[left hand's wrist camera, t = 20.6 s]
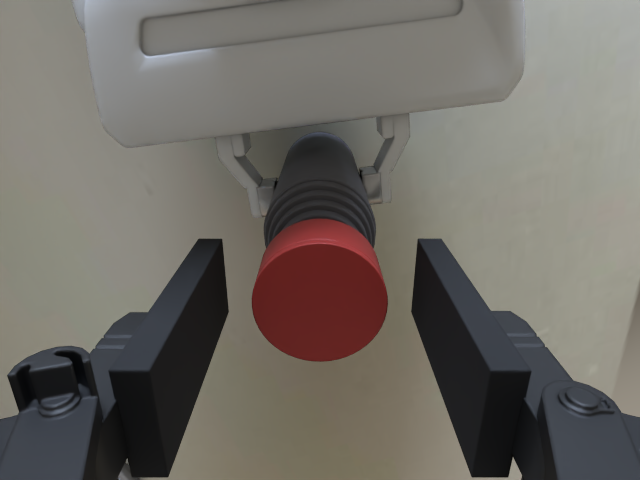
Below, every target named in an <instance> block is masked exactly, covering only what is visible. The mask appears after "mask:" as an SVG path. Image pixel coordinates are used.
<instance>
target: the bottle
mask: <svg viewBox="0 0 640 480" xmlns="http://www.w3.org/2000/svg"><path fill="white" fill-rule="evenodd" d="M309 219H330V220H335V221H339V222H342V223H344V224H347V225H349V226H351V227H352V228H354V229H356V230H357V231H358V232H360V233H361V234H362V235H363V236H364V237H365V238H366V239H367V240H368V242H369V243H370V244H371V246H372V248H374V244H375V235H376V224H375V218H374V215H373V212H372V209H371V206H370V203H369V200H368V197H367V195H366V192H365V189H364V186H363V183H362V180H361V177H360V175H359V172H358V169H357V166H356V163H355V160H354V157H353V155H352V152H351V150H350V149H349V147H348V146H347V145H346V143H345V142H344V141H342V140H341V139H340V138H338V137H337V136H335V135H332V134H329V133H324V132H316V133H311V134H308V135H305V136H303V137H301V138H300V139H299V140H297V141H296V142H295V143H294V144H293V146H292V147H291V148H290V150H289V152H288V154H287V157H286V160H285V163H284V166H283V168H282V171H281V174H280V177H279V180H278V183H277V185H276V188H275V191H274V194H273V197H272V199H271V202H270V205H269V208H268V211H267V214H266V217H265V222H264V239H265V246H266V248H267V247H268V245H269V244H270V242H271V241H272V240H273V239H274V238H275V236H277V235H278V234H279V233H280V232H281V231H283V230H284V229H286V228H287V227H289V226H291V225H293V224H295V223H298V222H301V221H304V220H309Z"/></svg>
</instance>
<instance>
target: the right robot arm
mask: <svg viewBox="0 0 640 480" xmlns="http://www.w3.org/2000/svg"><path fill="white" fill-rule="evenodd" d="M71 1H72V4H73V8H74V11H75V14H76V18H77V20H78V23H79V25H80V27H81V28H82V30H83V31H84V33H85V36H86V45H87V52H88V59H89V66H90V72H91V78H92V84H93V89H94V93H95V98H96V103H97V107H98V111H99V115H100V119H101V122H102V125H103V127H104V129H105V131H106V132H107V133H108V134H109V135H110V136H112V137H113V138H114V139H115V140H116V141H117V142H118V143H120V144H121V145H122V146H124V147H126V148H133V147H141V146H149V145H157V144H165V143H173V142H181V141H189V140H197V139H205V138H213V137H215V142H216V147H217V152H218V157H219V160H220V161H221V162H222V163H223V165H224V166H225V167H226V168H227V169H228V170H229V172H230V173H231V174H232V175H233V176H234V177H235V178H236V180H237V181H238V182H239V183H240V184H241V185H242V186H243V188H244V189H247V192H248V197H249V203H250V208H251V213H252V216H253V218H262V217H266V214H267V211H268V208H269V205H270V202H271V199H272V197H273V194H274V191H275V188H276V185H277V183H278V180H277V178H268V179H263V178H262V177H261V175H260V174H259V173H258V172H257V170H256V169H255V168H254V166H253V165H252V164H251V163H250V161H249V160H248V159H247V157H246V156H245V154H246V153H247V151H248V150H249V149H250V148H251V142H250V136H249V133H253V132H261V131H269V130H277V129H285V128H293V127H301V126H309V125H317V124H325V123H333V122H341V121H349V120H357V119H365V118H373V117H376V121H377V131H378V132H379V134H380V135H381V136H382V137H383V138H384V139H385V141H384V143H383V145H382V147H381V150H380V152H379V154H378V156H377V158H376V160H375V163H374V166H368V167H361V168H359V171H360V177H361V180H362V183H363V186H364V189H365V192H366V195H367V197H368V200H369V203H370V205H372V204H382V203H390V202H391V182H390V171H393V169H394V167H395V165H396V163H397V161H398V159H399V157H400V155H401V153H402V151H403V149H404V147H405V145H406V143H407V141H408V139H409V137H410V125H409V113H413V112H421V111H429V110H437V109H445V108H453V107H461V106H469V105H477V104H485V103H493V102H501V101H504V100H505V99H507V97H508V96H509V95H510V94H511V92H512V91H513V90H514V88H515V87H516V85H517V84H518V82H519V81H520V79H521V78H522V75H523V71H524V61H525V5H524V0H71Z"/></svg>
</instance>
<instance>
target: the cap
mask: <svg viewBox="0 0 640 480" xmlns="http://www.w3.org/2000/svg"><path fill="white" fill-rule="evenodd" d="M387 306H388V298H387V291H386V287H385V284H384V280H383V277H382V273H381V270H380V266H379V263H378V259H377V256H376V254H375V251H374V249H373V248H372V246H371V244H370V243H369V242H368V240H367V239H366V238H365V237H364V236H363V235H362V234H361V233H360V232H358V231H357V230H356V229H354V228H352V227H351V226H349V225H347V224H344V223H342V222H339V221H335V220H330V219H309V220H304V221H301V222H298V223H295V224H293V225H291V226H289V227H287V228H286V229H284V230H283V231H281V232H280V233H279V234H278V235H277V236H275V238H274V239H273V240H272V241H271V242H270V244H269V245H268V247H267V248H266V251H265V253H264V255H263V258H262V262H261V265H260V269H259V272H258V275H257V279H256V282H255V286H254V289H253V294H252V310H253V315H254V318H255V321H256V323H257V325H258V328H259V329H260V331H261V332H262V334H263V335H264V336H265V338H266V339H267V340H268V341H269V342H270V343H271V344H272V345H274V346H275V347H276V348H278V349H279V350H280V351H282V352H284V353H286V354H288V355H290V356H293V357H295V358H299V359H303V360H308V361H332V360H337V359H341V358H344V357H347V356H349V355H352V354H354V353H356V352H357V351H359V350H361V349H362V348H363V347H365V346H366V345H367V344H368V343H369V342H370V341H371V340H373V338H374V337H375V336H376V335H377V333H378V332H379V330H380V328H381V327H382V325H383V322H384V320H385V317H386V313H387Z"/></svg>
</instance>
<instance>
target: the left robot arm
mask: <svg viewBox="0 0 640 480" xmlns="http://www.w3.org/2000/svg"><path fill="white" fill-rule="evenodd" d="M228 312H229V310H228V299H227V288H226V277H225V265H224V254H223V243H222V239H198V241H197V242H196V243H195V245H194V246H193V248H192V249H191V251H190V252H189V254H188V255H187V257H186V258H185V259H184V261H183V262H182V264H181V265H180V267H179V268H178V270H177V271H176V273H175V274H174V276H173V277H172V278H171V280H170V281H169V283H168V284H167V286H166V287H165V289H164V290H163V292H162V293H161V294H160V296H159V297H158V299H157V300H156V302H155V303H154V305H153V306H152V308H151V309H150V310H149V312H130V313H128V314H127V315H125V316H124V317H122V318H121V319H119V320H118V321H116V322H115V323H114V324H113V325H112V326H111V327H110V329H109V330H108V331H107V332H106V334H105V335H104V338H102V339H101V340H100V341H99V342H98V344H97V345H96V348H95V349H93V350H92V351H91V353H90V354H89V353H88V352H87V351H86V350H84V349H83V348H80V347H74V346H63V347H55V348H51V349H47V350H43V351H40V352H38V353H36V354H34V355H31V356H29V357H27V358H26V359H24V360H23V361H21V362H20V363H18V364H17V365H16V366H14V368H13V369H12V370H11V371H10V373H9V374H8V375H7V376H8V379H9V382H10V385H11V388H12V391H13V394H14V397H15V400H16V403H17V406H18V410H19V414H18V415H16V416H12V417H8V418H4V419H0V480H140V479H139V478H138V477H168V476H169V474H170V471H171V468H172V465H173V463H174V460H175V457H176V454H177V452H178V449H179V446H180V444H181V441H182V438H183V435H184V433H185V430H186V427H187V424H188V422H189V419H190V416H191V413H192V411H193V408H194V405H195V402H196V400H197V397H198V394H199V392H200V389H201V386H202V383H203V381H204V378H205V375H206V372H207V370H208V367H209V364H210V361H211V359H212V356H213V353H214V351H215V348H216V345H217V342H218V340H219V337H220V334H221V331H222V329H223V326H224V323H225V320H226V318H227V315H228ZM411 312H412V315H413V318H414V320H415V323H416V326H417V329H418V331H419V334H420V337H421V340H422V342H423V345H424V348H425V351H426V353H427V356H428V359H429V361H430V364H431V367H432V370H433V372H434V375H435V378H436V381H437V383H438V386H439V389H440V392H441V394H442V397H443V400H444V402H445V405H446V408H447V411H448V413H449V416H450V419H451V422H452V424H453V427H454V430H455V433H456V435H457V438H458V441H459V444H460V446H461V449H462V452H463V454H464V457H465V460H466V463H467V465H468V468H469V471H470V474H471V476H472V477H508V476H509V471H510V467H511V462H512V458H513V457H514V459H515V462H516V464H517V466H518V468H519V470H520V472H521V474H522V479H521V480H640V417H635V416H631V415H627V414H624V413H621V411H620V409H619V408H618V406H617V405H616V404H615V402H614V401H613V400H612V399H610V398H609V397H608V396H607V395H605V394H604V393H603V392H601V391H599V390H597V389H595V388H593V387H591V386H589V385H586V384H583V383H580V382H576V381H573V380H572V378H571V377H570V376H569V375H568V373H567V372H566V371H565V370H564V368H563V367H562V366H561V365H560V363H559V362H558V361H557V359H556V358H555V357H554V356H553V354H552V353H551V352H550V351H549V349H548V348H547V347H545V344H544V343H543V342H542V341H541V339H540V338H539V337H537V336H536V333H535V332H534V331H533V329H532V328H531V327H530V326H529V324H528V323H527V322H526V321H525V320H523V319H522V318H520V317H518V316H517V315H515V314H514V313H512V312H511V311H491V310H490V309H489V308H488V306H487V305H486V303H485V302H484V300H483V299H482V297H481V296H480V294H479V293H478V292H477V290H476V289H475V287H474V286H473V284H472V283H471V281H470V280H469V278H468V277H467V276H466V274H465V273H464V271H463V270H462V268H461V267H460V265H459V264H458V262H457V261H456V259H455V258H454V257H453V255H452V254H451V252H450V251H449V249H448V248H447V246H446V245H445V243H444V242H443V241H442V239H418V243H417V254H416V265H415V277H414V288H413V299H412V310H411ZM127 458H128V462H129V466H128V465H127V464H126V463H125V462H126V460H127Z"/></svg>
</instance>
